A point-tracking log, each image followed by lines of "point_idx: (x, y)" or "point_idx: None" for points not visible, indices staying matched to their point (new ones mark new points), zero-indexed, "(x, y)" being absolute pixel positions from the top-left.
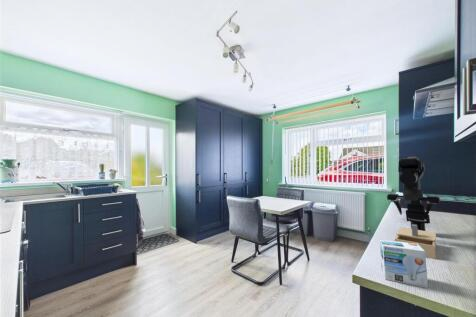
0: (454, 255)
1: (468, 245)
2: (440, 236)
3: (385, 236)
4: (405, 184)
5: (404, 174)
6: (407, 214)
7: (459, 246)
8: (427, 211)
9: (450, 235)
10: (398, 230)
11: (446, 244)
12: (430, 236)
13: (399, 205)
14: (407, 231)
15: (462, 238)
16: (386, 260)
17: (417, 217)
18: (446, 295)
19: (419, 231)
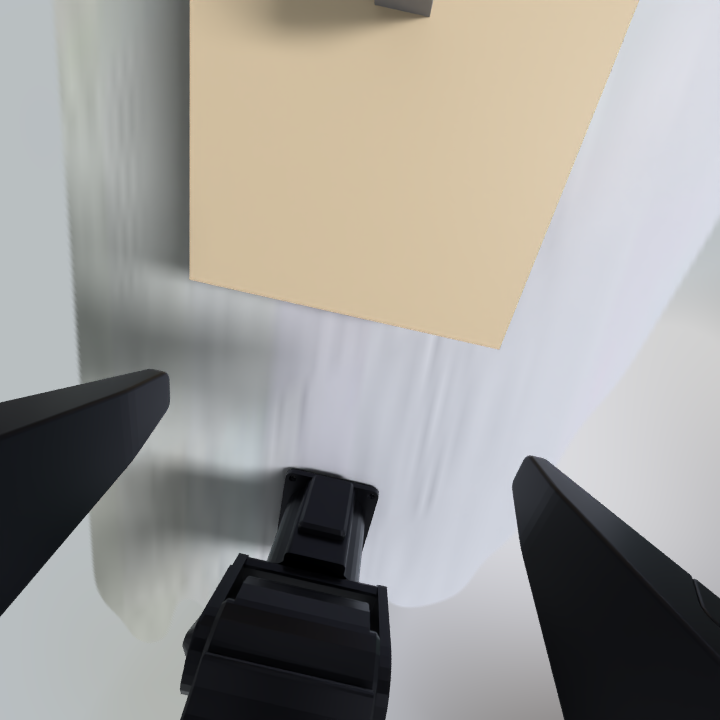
0: (150, 30)
1: (91, 372)
2: (217, 494)
3: (587, 336)
4: None
5: None
6: (379, 640)
7: (129, 323)
8: (21, 413)
9: (172, 531)
10: (574, 158)
11: (193, 331)
12: (240, 19)
13: (711, 674)
14: (468, 161)
15: (123, 498)
16: None
17: (294, 598)
18: None
19: (332, 245)
